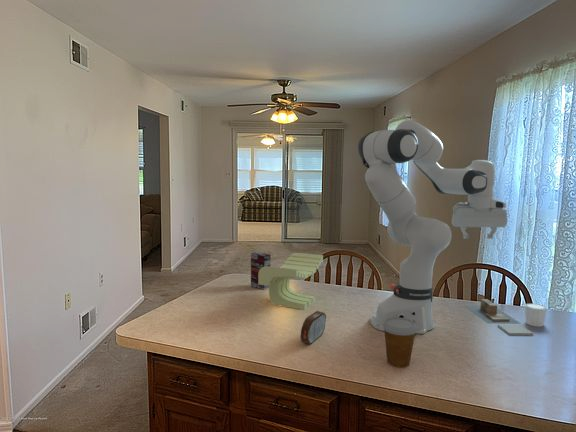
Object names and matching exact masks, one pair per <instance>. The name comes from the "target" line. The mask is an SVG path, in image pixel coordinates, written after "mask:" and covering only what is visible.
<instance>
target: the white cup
mask: <svg viewBox="0 0 576 432" xmlns="http://www.w3.org/2000/svg"><path fill="white" fill-rule="evenodd" d="M524 306H525V307H524V308H525V309H524V311H525V312H524V313H525V316H524V317H525V324H527V325H529V326H531V327H532V326H533V327H543V326H544V325H545V319H546V316H547V309H548V307H547V306H545V305H542V304H538V303H525V304H524Z"/></svg>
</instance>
